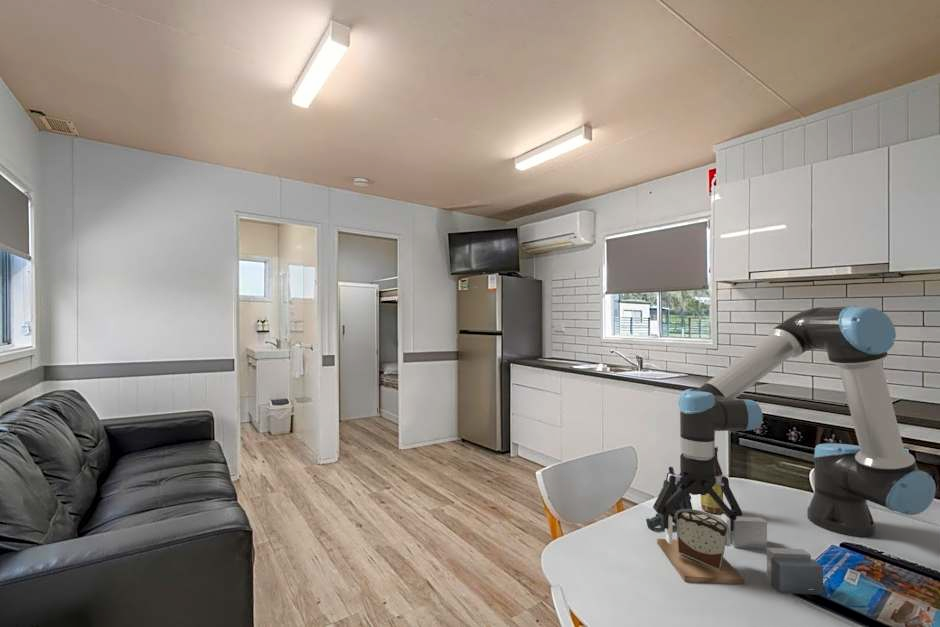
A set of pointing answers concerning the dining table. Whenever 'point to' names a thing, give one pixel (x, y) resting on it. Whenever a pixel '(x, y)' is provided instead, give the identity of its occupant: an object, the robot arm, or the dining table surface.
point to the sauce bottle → (707, 500)
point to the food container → (701, 536)
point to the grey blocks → (779, 559)
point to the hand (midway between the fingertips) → (697, 542)
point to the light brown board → (698, 567)
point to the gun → (682, 505)
